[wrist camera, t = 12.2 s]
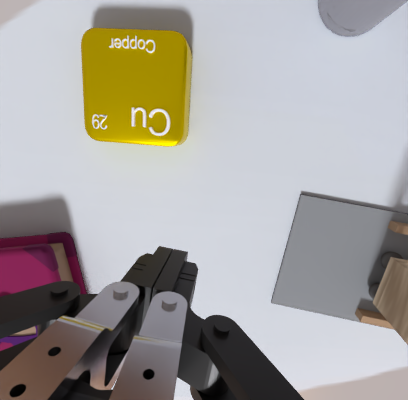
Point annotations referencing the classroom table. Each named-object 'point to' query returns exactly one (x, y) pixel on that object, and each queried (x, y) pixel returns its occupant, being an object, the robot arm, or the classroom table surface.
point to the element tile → (136, 86)
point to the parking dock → (338, 258)
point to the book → (36, 269)
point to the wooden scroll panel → (393, 292)
